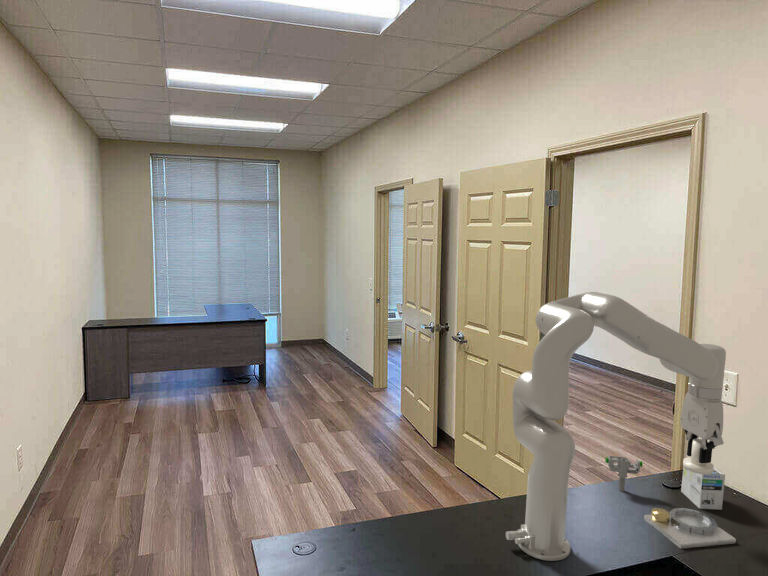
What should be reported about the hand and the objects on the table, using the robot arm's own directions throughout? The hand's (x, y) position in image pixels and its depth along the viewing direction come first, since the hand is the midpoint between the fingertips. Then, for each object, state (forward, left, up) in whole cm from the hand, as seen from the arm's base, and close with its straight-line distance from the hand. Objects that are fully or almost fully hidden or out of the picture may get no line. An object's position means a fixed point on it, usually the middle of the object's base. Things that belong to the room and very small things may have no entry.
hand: (698, 458), depth 146 cm
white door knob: (0, 0, -3) cm, 3 cm away
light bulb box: (+13, +12, -19) cm, 27 cm away
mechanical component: (-7, +21, -19) cm, 30 cm away
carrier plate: (-3, -2, -19) cm, 19 cm away
